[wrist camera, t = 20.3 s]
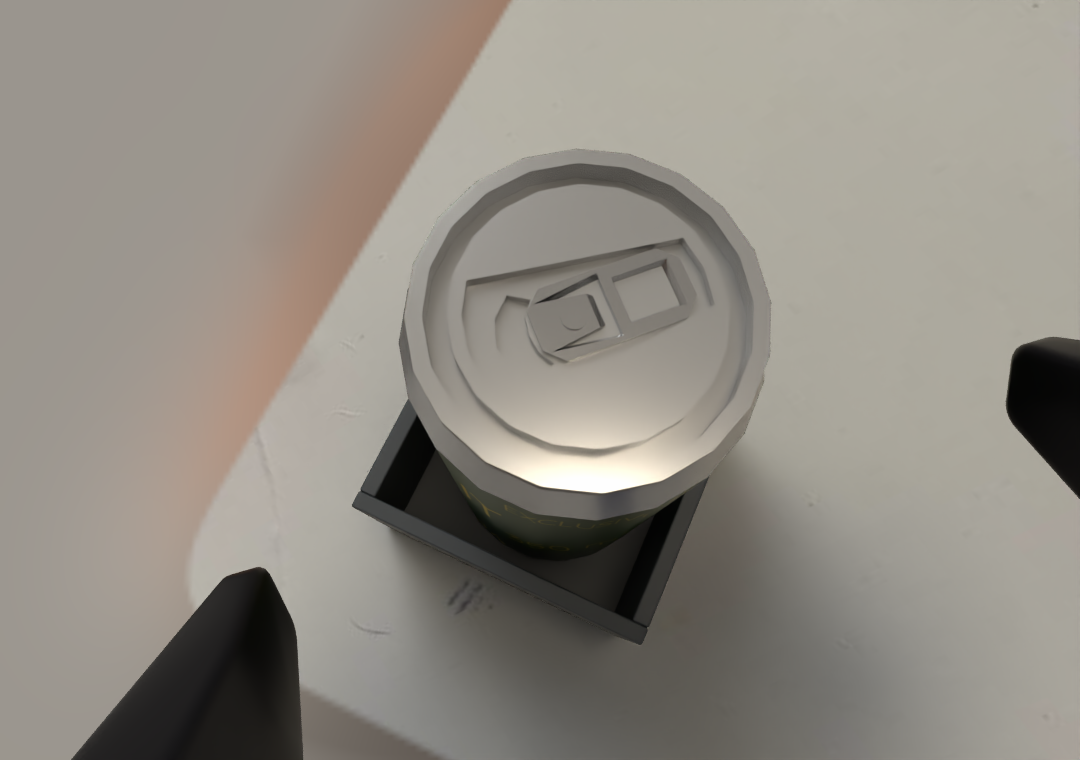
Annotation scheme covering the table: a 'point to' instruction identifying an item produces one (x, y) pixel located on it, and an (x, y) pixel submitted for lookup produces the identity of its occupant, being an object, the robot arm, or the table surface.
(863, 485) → the table surface
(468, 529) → the open square box
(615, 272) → the green metal cylinder
